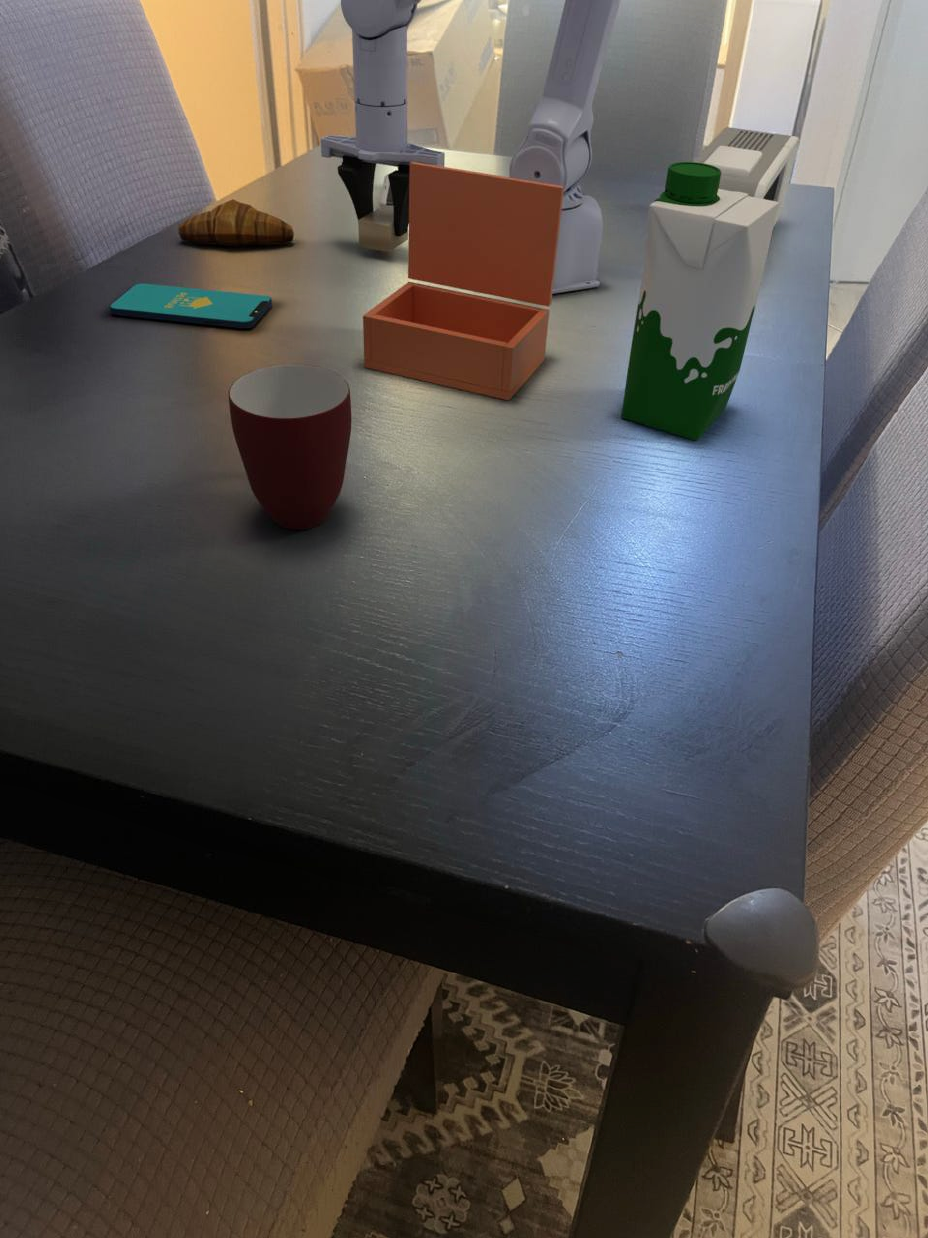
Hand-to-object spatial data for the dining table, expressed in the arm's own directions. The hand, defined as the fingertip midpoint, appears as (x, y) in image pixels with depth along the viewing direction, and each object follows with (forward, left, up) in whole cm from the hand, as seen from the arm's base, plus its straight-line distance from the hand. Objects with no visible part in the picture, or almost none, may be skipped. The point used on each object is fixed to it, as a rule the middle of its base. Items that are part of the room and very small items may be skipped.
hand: (383, 230), depth 111 cm
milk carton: (-8, +47, -3) cm, 48 cm away
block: (0, 0, -1) cm, 1 cm away
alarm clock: (-41, +13, -3) cm, 43 cm away
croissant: (+15, -9, -3) cm, 18 cm away
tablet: (-20, -13, -3) cm, 24 cm away
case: (+5, +30, -3) cm, 31 cm away
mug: (+27, +48, -3) cm, 55 cm away
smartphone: (+25, +9, -3) cm, 27 cm away
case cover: (+2, +27, +8) cm, 29 cm away
